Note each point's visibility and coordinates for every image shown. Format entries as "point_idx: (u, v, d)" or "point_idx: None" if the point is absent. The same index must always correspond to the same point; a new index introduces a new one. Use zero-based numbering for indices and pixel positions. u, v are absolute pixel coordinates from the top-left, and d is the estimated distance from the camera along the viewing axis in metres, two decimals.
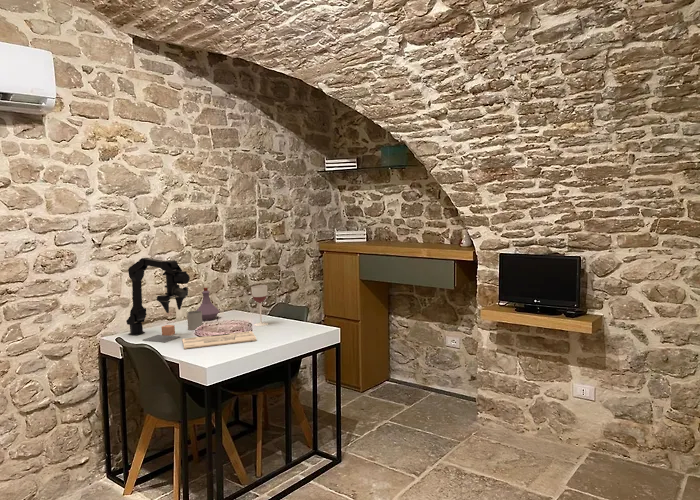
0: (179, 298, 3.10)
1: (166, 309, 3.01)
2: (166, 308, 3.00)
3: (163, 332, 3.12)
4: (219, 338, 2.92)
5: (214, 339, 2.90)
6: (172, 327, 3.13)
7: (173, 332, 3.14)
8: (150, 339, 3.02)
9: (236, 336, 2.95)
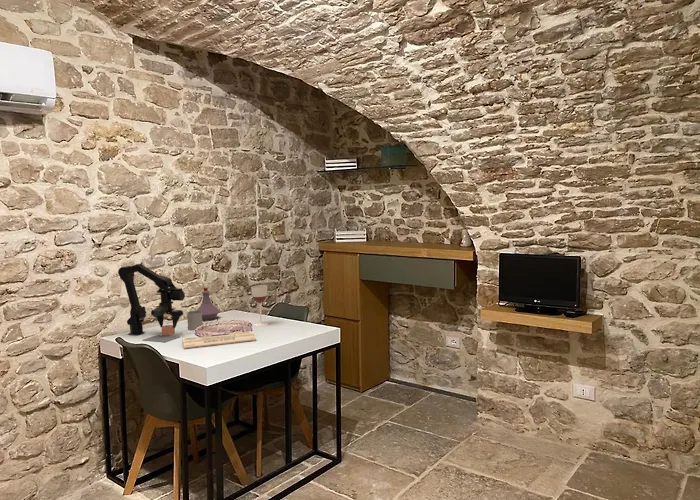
0: None
1: None
2: None
3: (163, 332, 3.12)
4: (219, 338, 2.92)
5: (214, 339, 2.91)
6: (172, 327, 3.13)
7: (173, 332, 3.14)
8: (150, 339, 3.02)
9: (236, 336, 2.95)
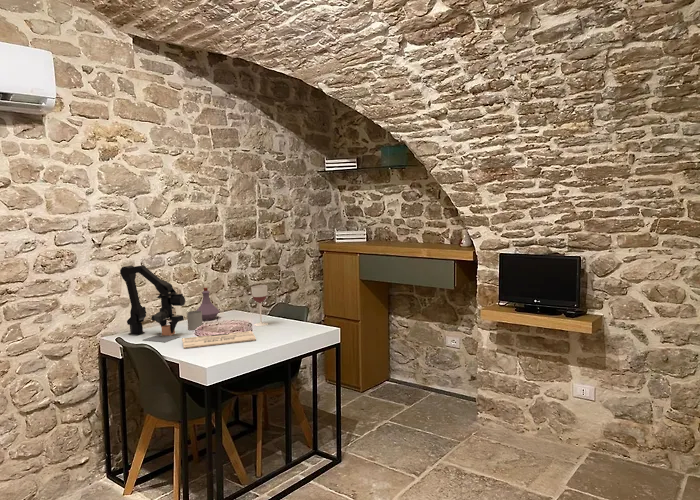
0: None
1: None
2: None
3: (163, 332, 3.12)
4: (219, 338, 2.93)
5: (214, 339, 2.91)
6: None
7: (173, 332, 3.14)
8: (150, 339, 3.02)
9: (236, 336, 2.96)
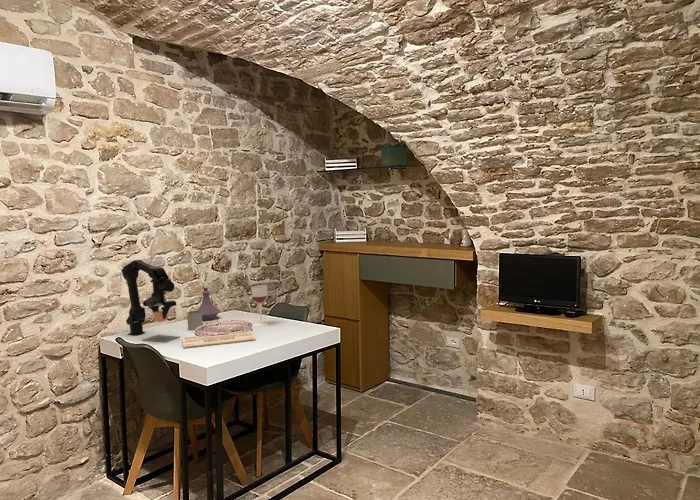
0: None
1: None
2: None
3: (155, 318, 3.02)
4: (218, 337, 2.94)
5: (213, 338, 2.92)
6: None
7: (165, 318, 3.04)
8: (150, 339, 3.02)
9: (235, 335, 2.97)
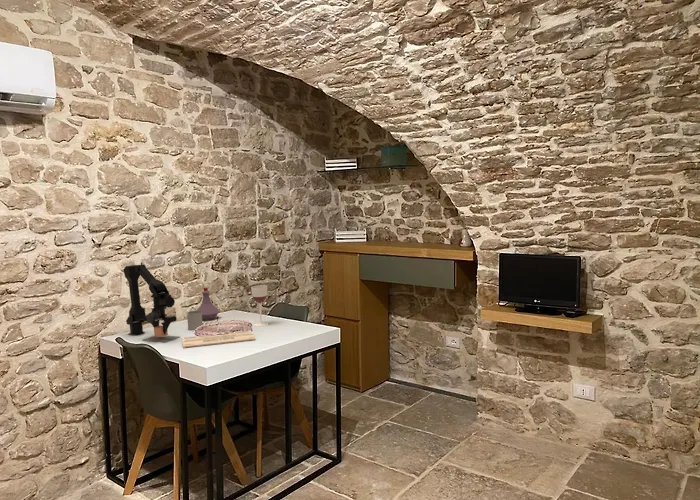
0: None
1: None
2: None
3: (155, 333, 3.03)
4: (218, 337, 2.94)
5: (213, 338, 2.93)
6: None
7: (166, 333, 3.05)
8: (150, 339, 3.02)
9: (235, 335, 2.97)
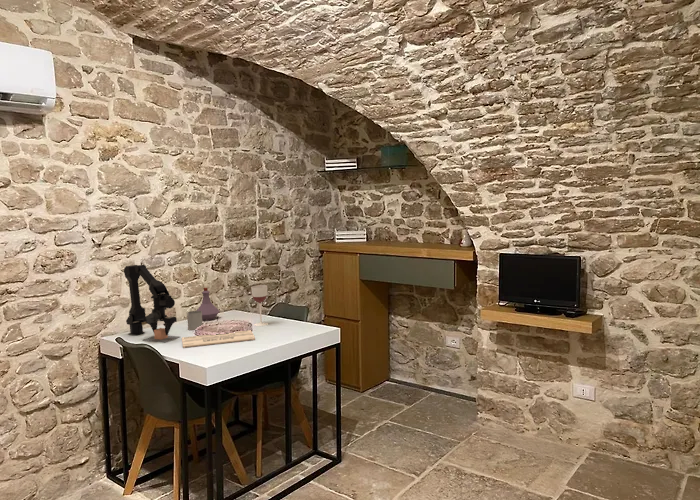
0: None
1: None
2: None
3: (156, 335, 3.03)
4: (218, 337, 2.95)
5: (213, 338, 2.93)
6: None
7: (166, 335, 3.05)
8: (150, 339, 3.02)
9: (235, 335, 2.97)
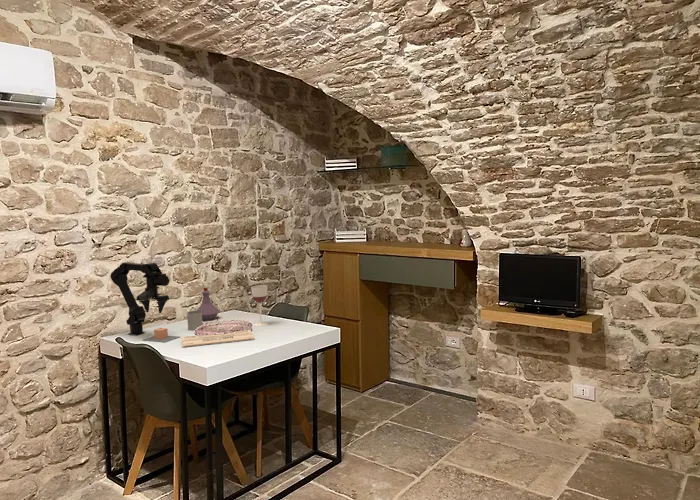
0: None
1: None
2: None
3: (156, 335, 3.03)
4: (218, 337, 2.95)
5: (213, 337, 2.94)
6: (165, 330, 3.04)
7: (166, 335, 3.05)
8: (150, 339, 3.02)
9: (234, 335, 2.98)
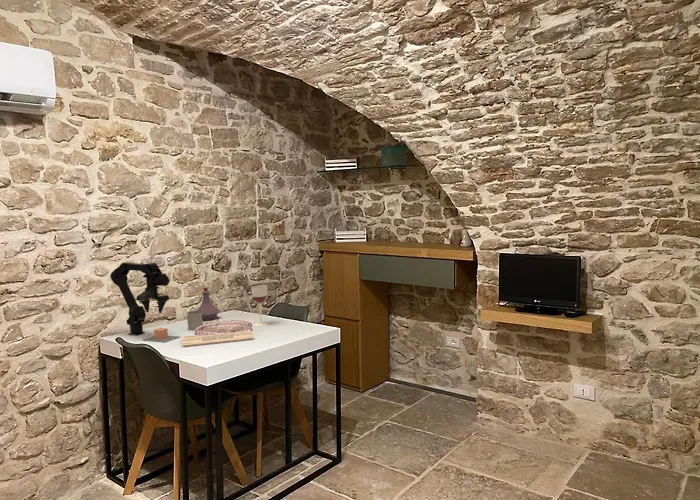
0: None
1: None
2: None
3: (156, 335, 3.03)
4: (217, 336, 2.96)
5: (212, 337, 2.94)
6: (165, 330, 3.04)
7: (166, 335, 3.05)
8: (150, 339, 3.02)
9: (234, 334, 2.99)
